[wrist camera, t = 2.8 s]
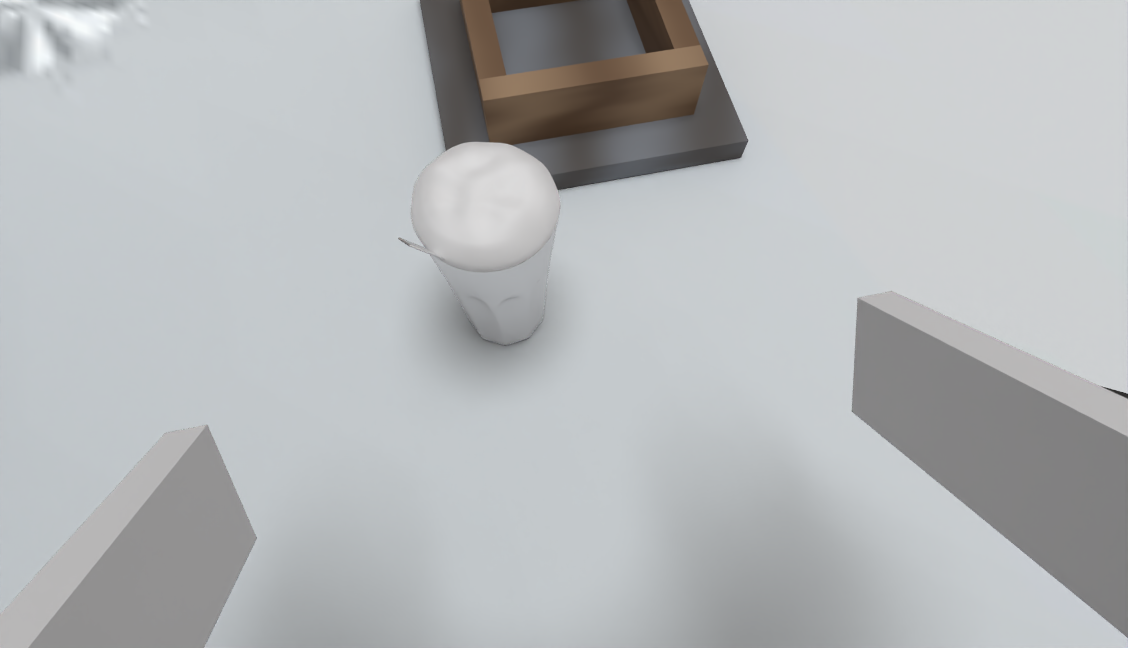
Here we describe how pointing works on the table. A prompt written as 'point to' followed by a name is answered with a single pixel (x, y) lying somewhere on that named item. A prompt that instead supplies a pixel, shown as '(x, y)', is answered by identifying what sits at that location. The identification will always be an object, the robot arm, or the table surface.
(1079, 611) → the table surface
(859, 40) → the table surface
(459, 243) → the milkshake
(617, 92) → the socket board
